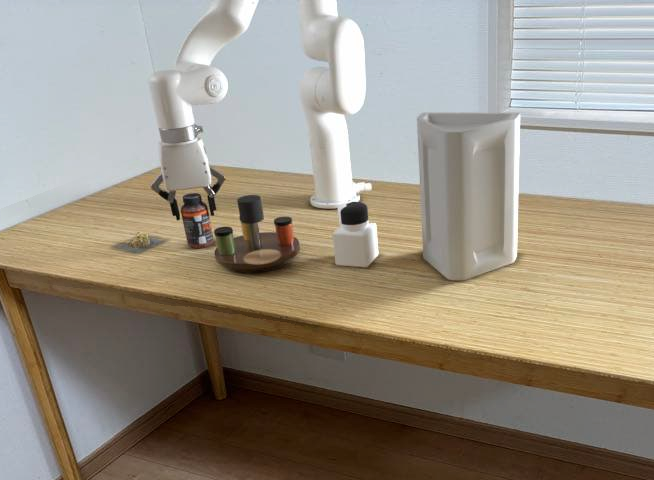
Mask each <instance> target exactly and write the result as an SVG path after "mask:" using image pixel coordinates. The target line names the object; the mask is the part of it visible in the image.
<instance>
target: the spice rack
mask: <svg viewBox="0 0 654 480" xmlns="http://www.w3.org/2000/svg"><path fill="white" fill-rule="evenodd" d="M236 202H237V206H238V207H237V208H238V213H239V216H238V217H239V222H240V226H241V232H242V235H240V236H236V237H234V230H233V227H231V226H220V227H217V228H215V229H214V230H213V233H214V234H213V235H214V236H215V237H214V238H215V241H216V246H217V247H216V248H215V250H214V259H215V261H216V262H217V263H218V264H219V265H221V266H223V267H225V268H230V269H232V268H234V269H256V268H264V267H269V266H273V265H277V264H280V263H283V262H285V261H287V260H288V261H290V260H291V259H293V258H294V257H295V256H297V255H298V254H299V252H300V250H301V245H300V241H299V239H298V238H297V237H296V236H294V235H295V234H294V228H293V218H292V217H291V216H278V217H275V218H274V219H273V225H274V228H275V229H274V230H275V231H268V232H267V231H265V232H260V228H259V223H260V222H263V221H264V220H265V216H264V211H263V203H262V197H261V196H260V195H257V194H248V195H243V196H240V197H238V198H237V200H236ZM288 261H287V262H288Z"/></svg>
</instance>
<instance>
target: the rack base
mask: <svg viewBox="0 0 654 480" xmlns="http://www.w3.org/2000/svg"><path fill="white" fill-rule="evenodd" d="M288 262H289V260H287V261H285V262H283V263H280V264H277V265H273V266H269V267H264V268H256V269H234V268H231V270H233V271H236V272H240V273H261V272H267V271H271V270H275V269H277V268H281V267H282V266H284V265H285V264H287V263H288Z"/></svg>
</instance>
